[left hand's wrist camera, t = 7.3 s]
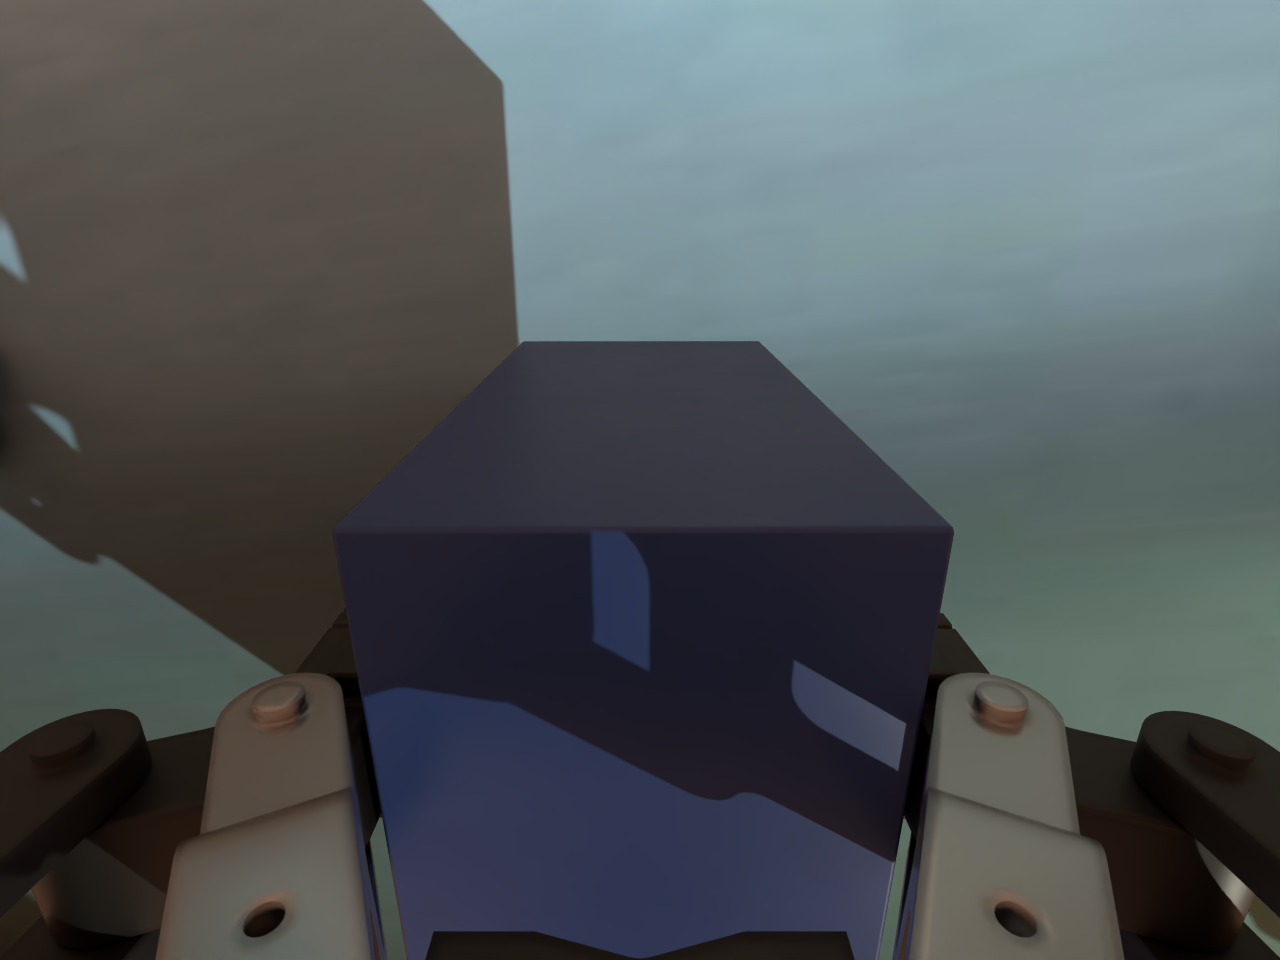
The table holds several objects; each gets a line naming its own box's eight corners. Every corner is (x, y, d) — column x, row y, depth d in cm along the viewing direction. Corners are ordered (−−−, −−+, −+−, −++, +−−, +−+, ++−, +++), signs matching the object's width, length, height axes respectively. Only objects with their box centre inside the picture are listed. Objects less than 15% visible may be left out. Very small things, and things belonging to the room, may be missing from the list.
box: (522, 341, 17) (328, 527, 6) (759, 340, 17) (958, 527, 6) (565, 1048, 27) (516, 1589, 16) (716, 1048, 27) (767, 1588, 16)
